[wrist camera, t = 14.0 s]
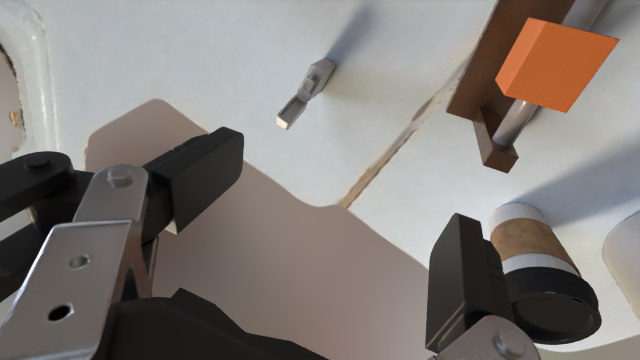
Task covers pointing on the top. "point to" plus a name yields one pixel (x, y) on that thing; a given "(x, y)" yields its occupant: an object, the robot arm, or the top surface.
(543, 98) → the clip
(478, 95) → the handle stand
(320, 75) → the lighter
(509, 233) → the coffee cup
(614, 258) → the cylinder vase
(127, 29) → the top surface
